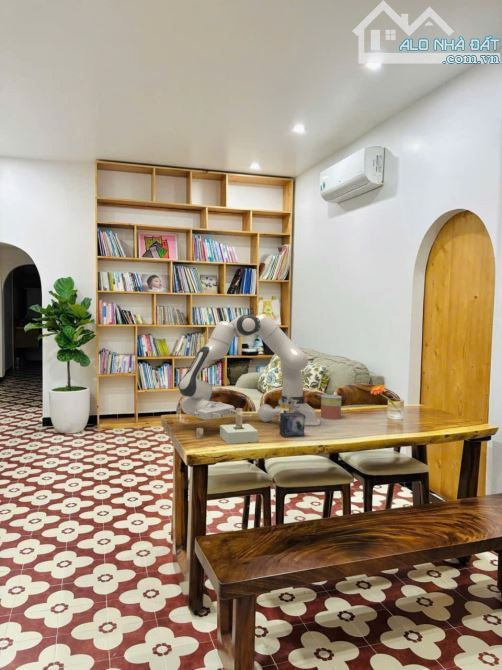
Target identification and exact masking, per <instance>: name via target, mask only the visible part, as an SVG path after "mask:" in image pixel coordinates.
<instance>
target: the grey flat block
mask: <svg viewBox="0 0 502 670" xmlns="http://www.w3.org/2000/svg"><path fill="white" fill-rule="evenodd" d="M235 425H236V423H235V424H221V425H219V437H220V438H222V440H223V441H224V442H225V443H226V444H227V445H232V444H235V445H236V444H247V443H248V442H251V443H258V441H259V440H258V439H259V430H257V429H256V428H255V427H253V426H252V425H251V424H250V423H242V429H237V430H235ZM248 444H249V443H248Z"/></svg>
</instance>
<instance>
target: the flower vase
mask: <svg viewBox="0 0 502 670" xmlns="http://www.w3.org/2000/svg"><path fill="white" fill-rule="evenodd" d="M285 395H286V394H285ZM286 397H287V400H288V401H287V400H286V401H285V402H284V403H283V402H282V401H281V399H278V405H277V406H275V407H274V408H273V407H272V405H270V404H266V403H265V404H262V405H260V407H259V408H258V409H257V417H258V418H259V419H260V420H261V421H262V422H265V423H266V422H270V421H272V419H273V417H274V416H278V415H280V413H292V411H294V412H299V410H298V409H297V408H300V404H297V405H296V403H297V401H296V400H295V401H294V400H293V399H292V398H291V397H290V398H289V397H288V396H287V395H286ZM289 402H291V403H290V405H289V404H288V403H289ZM293 402H294V404H293ZM278 419H280V418H279V417H278Z"/></svg>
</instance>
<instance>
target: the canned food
mask: <svg viewBox="0 0 502 670" xmlns="http://www.w3.org/2000/svg"><path fill="white" fill-rule="evenodd" d="M320 398H321V399H320V401H321V402H320V403H321V405H320V418H321V419H323V420H326V421H327V420H328V421H337V420H338V419H339V420H341V418H342V398H343V397H342V396H341V395H337V394H322V395H321V397H320Z"/></svg>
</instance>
